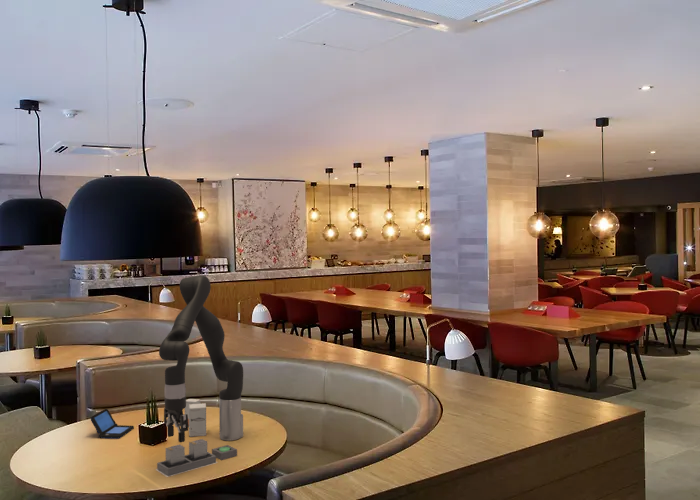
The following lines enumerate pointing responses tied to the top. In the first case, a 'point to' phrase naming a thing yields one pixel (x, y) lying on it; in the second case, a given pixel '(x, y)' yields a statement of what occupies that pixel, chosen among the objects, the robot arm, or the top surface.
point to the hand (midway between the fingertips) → (176, 439)
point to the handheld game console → (109, 426)
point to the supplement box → (197, 419)
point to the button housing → (224, 453)
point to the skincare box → (188, 401)
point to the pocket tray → (185, 465)
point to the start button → (224, 449)
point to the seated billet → (197, 450)
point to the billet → (175, 456)
